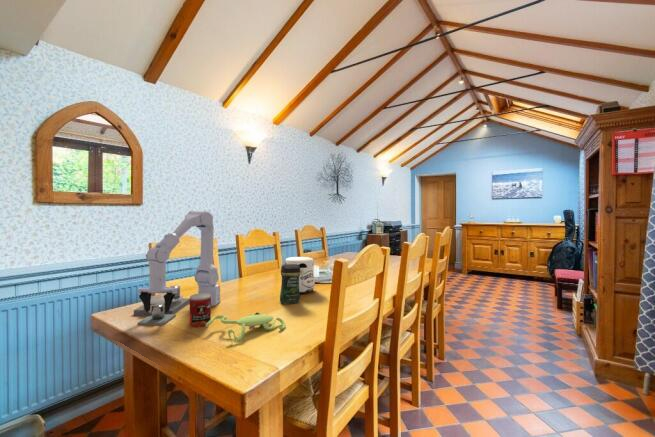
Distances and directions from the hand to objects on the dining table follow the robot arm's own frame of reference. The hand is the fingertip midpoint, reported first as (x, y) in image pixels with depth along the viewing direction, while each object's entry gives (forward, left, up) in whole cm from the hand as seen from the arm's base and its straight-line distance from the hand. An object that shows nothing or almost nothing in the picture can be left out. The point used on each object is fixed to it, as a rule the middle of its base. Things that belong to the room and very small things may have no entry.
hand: (157, 311), depth 125 cm
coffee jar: (-50, -27, -4) cm, 57 cm away
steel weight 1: (0, -1, -3) cm, 3 cm away
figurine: (-37, +9, -4) cm, 39 cm away
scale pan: (+5, -16, 0) cm, 17 cm away
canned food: (-18, +3, -4) cm, 19 cm away
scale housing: (+5, -15, -4) cm, 16 cm away
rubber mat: (0, 0, -4) cm, 4 cm away
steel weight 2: (+1, -16, +1) cm, 16 cm away
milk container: (-53, -47, -4) cm, 71 cm away
